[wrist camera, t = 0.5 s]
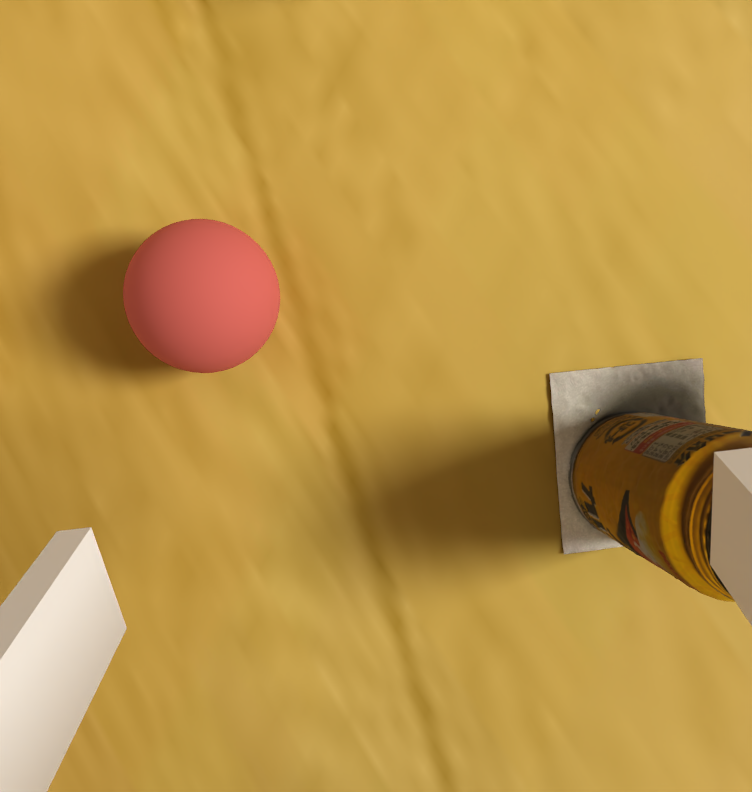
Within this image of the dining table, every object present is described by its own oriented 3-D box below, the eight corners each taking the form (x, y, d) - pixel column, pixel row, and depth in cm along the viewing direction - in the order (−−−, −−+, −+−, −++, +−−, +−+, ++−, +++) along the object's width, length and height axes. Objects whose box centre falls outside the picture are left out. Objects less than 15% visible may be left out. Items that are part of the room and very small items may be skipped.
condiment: (562, 553, 34) (702, 662, 22) (548, 373, 33) (684, 384, 21) (710, 534, 34) (923, 631, 23) (698, 357, 34) (911, 361, 22)
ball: (237, 396, 32) (221, 406, 26) (116, 324, 31) (71, 318, 25) (307, 280, 32) (308, 263, 26) (188, 206, 31) (160, 171, 25)
